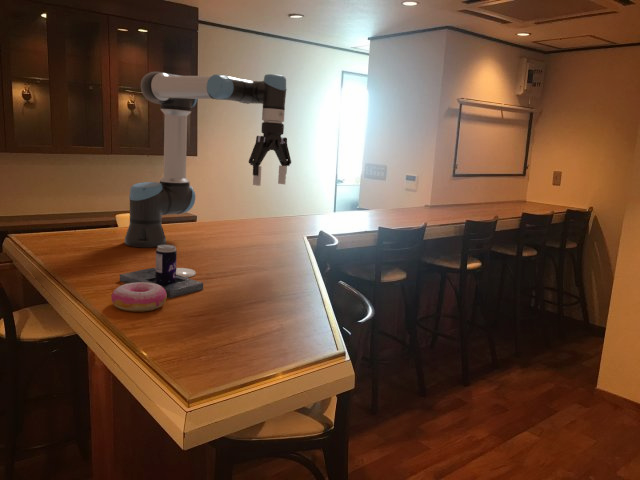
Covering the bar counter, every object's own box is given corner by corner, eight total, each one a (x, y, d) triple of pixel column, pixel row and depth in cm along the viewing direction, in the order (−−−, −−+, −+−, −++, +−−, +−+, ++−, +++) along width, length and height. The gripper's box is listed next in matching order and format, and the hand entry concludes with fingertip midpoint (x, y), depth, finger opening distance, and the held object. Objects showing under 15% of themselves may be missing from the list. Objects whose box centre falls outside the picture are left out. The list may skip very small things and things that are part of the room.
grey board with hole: (119, 281, 153) (119, 274, 153) (153, 273, 163) (153, 267, 163) (170, 298, 141) (170, 291, 141) (203, 289, 151) (203, 282, 151)
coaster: (155, 273, 164) (155, 271, 164) (180, 268, 172) (180, 266, 172) (177, 280, 158) (177, 278, 158) (202, 274, 167) (202, 272, 167)
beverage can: (170, 290, 148) (170, 249, 146) (151, 288, 149) (152, 247, 147) (179, 285, 153) (180, 245, 151) (161, 283, 154) (162, 243, 152)
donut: (124, 295, 141) (124, 277, 140) (173, 299, 141) (173, 281, 140) (102, 312, 128) (102, 292, 127) (156, 316, 128) (156, 297, 127)
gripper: (257, 120, 165) (253, 187, 170) (303, 125, 186) (299, 184, 190) (239, 119, 170) (236, 184, 174) (286, 123, 190) (283, 182, 194)
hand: (269, 184), depth 182 cm, fingers open, 13 cm apart
